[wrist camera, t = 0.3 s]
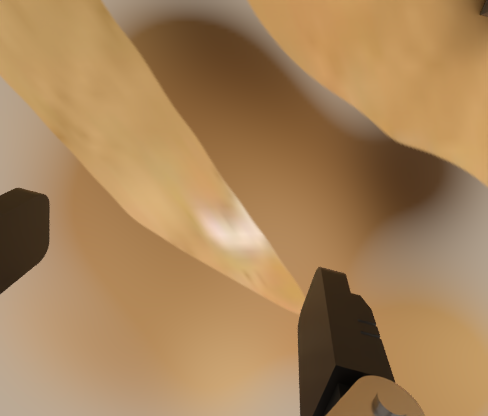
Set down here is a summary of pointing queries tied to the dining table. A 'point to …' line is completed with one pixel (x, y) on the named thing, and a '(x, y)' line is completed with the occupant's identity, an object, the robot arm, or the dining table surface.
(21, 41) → the dining table surface
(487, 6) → the block
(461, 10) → the dining table surface
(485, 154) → the dining table surface
